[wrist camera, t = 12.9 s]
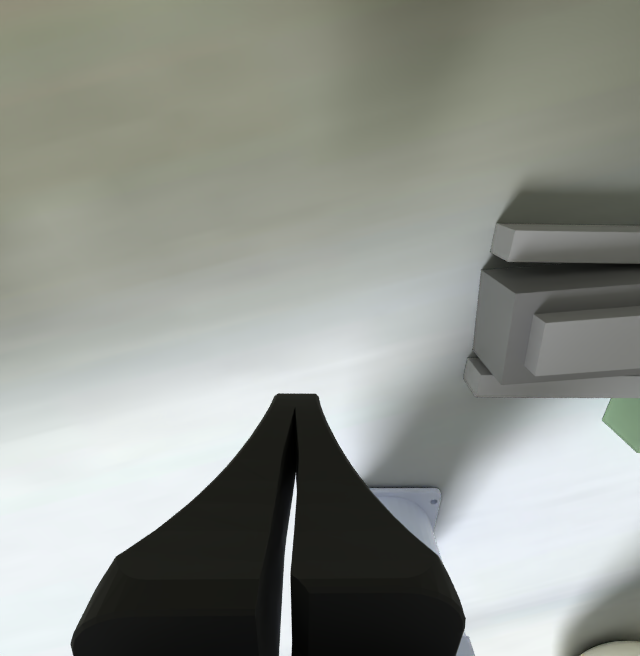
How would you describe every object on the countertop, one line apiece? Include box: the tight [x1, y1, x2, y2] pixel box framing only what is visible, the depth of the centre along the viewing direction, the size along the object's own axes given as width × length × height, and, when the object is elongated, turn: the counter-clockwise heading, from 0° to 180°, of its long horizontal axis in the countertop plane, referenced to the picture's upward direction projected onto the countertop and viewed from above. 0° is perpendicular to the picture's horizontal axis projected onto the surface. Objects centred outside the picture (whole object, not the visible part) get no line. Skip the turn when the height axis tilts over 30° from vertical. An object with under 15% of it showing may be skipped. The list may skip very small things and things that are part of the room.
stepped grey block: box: [472, 263, 640, 385], centre depth 19 cm, size 5×9×5 cm, turn 95°
